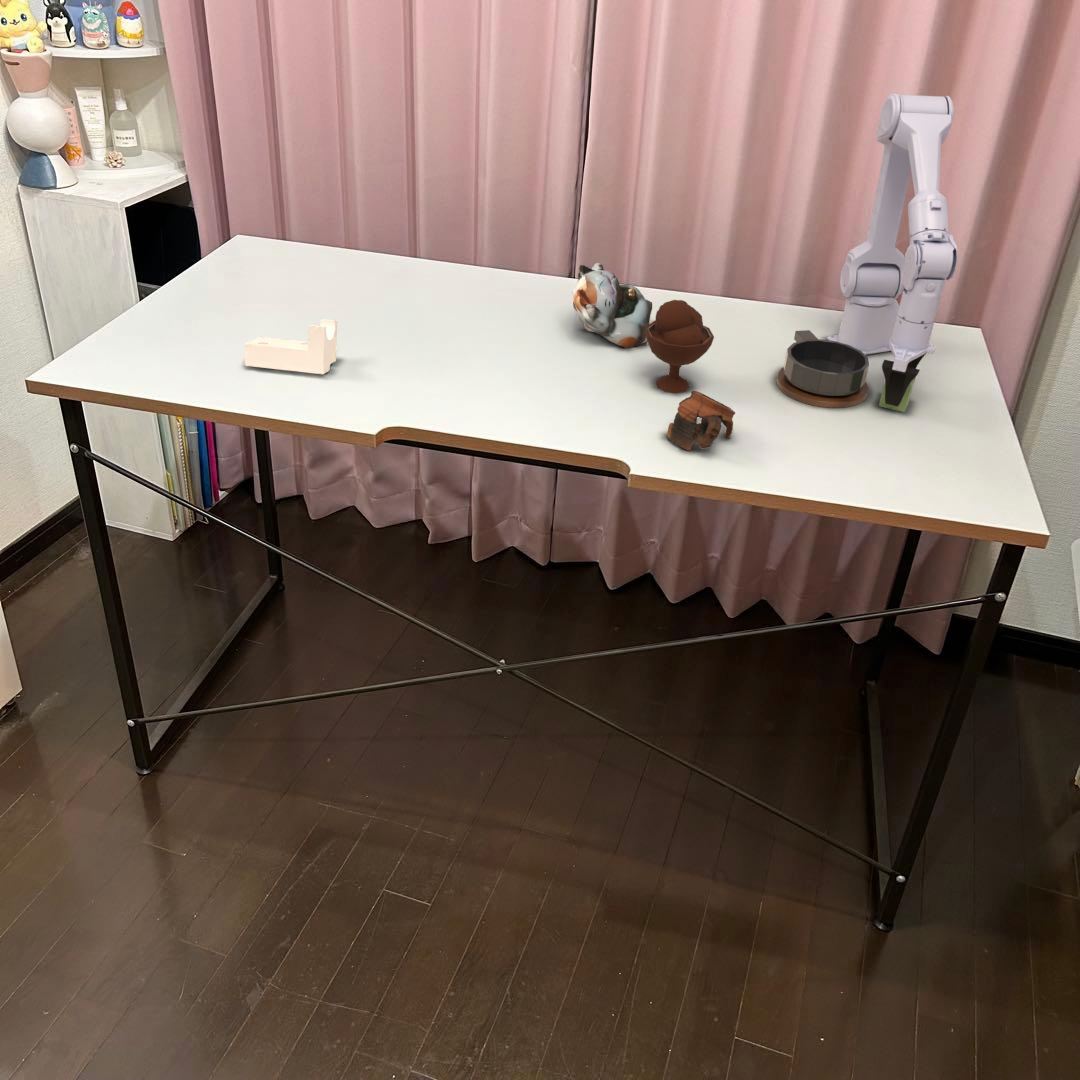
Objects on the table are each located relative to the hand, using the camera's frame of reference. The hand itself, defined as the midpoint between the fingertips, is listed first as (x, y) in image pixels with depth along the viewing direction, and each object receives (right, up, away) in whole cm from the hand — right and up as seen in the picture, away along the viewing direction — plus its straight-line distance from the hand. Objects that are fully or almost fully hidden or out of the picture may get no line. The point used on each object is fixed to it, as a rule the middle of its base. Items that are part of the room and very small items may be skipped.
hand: (896, 394), depth 185 cm
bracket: (-99, +5, +2) cm, 99 cm away
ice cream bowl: (-36, +2, +3) cm, 36 cm away
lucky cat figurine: (-45, +13, +18) cm, 50 cm away
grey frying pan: (-11, +4, +6) cm, 13 cm away
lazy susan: (-11, +2, +5) cm, 12 cm away
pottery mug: (-34, -9, -13) cm, 37 cm away
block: (0, -1, +1) cm, 2 cm away
